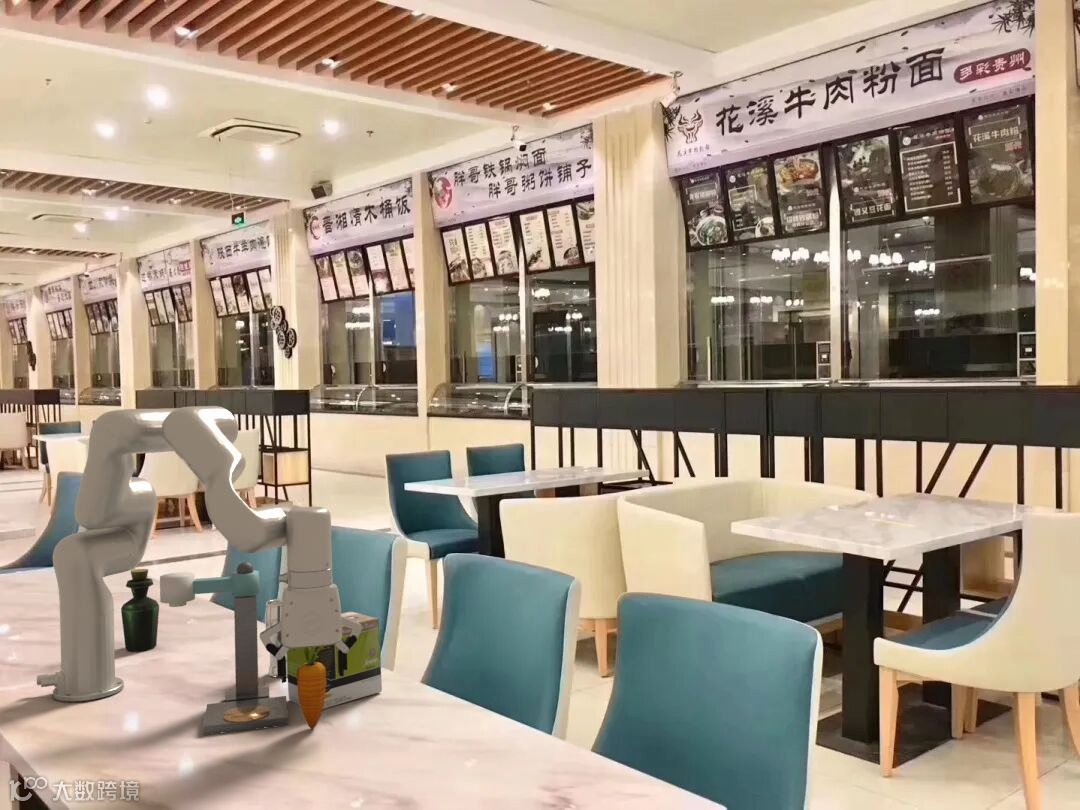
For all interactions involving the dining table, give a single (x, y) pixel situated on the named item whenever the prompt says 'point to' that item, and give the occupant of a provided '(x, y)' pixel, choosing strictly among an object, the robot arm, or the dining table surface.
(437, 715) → the dining table surface
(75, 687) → the robot arm
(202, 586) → the press arm
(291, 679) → the tea box
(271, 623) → the beer glass
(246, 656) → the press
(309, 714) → the carrot
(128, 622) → the potion bottle
